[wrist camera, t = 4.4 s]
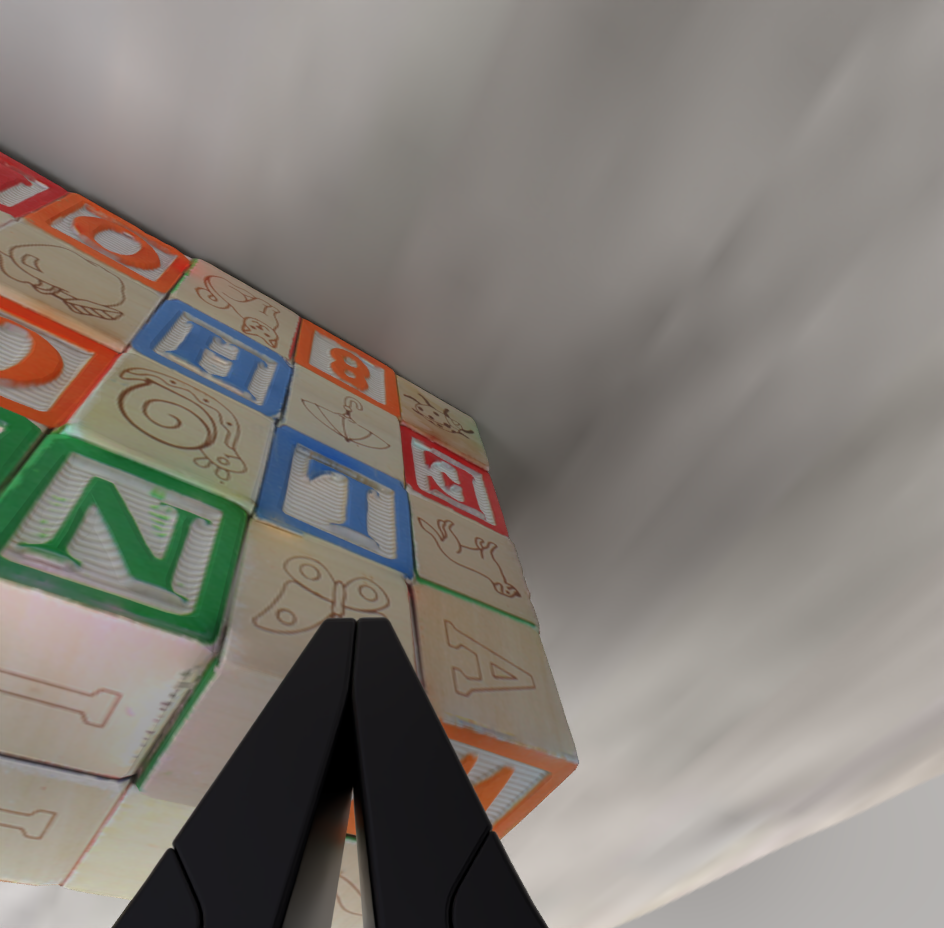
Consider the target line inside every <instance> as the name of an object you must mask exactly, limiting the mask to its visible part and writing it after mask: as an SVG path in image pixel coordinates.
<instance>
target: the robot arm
mask: <svg viewBox="0 0 944 928" xmlns="http://www.w3.org/2000/svg"><path fill="white" fill-rule="evenodd" d="M352 792H353V798H354V815H355V828H356V841H357V854H358V866H359V879H360V892H361V905H362V918H363V928H548V926H547V924H546V923H545V921H544V920H543V918H542V916H541V915H540V913H539V911H538V910H537V908H536V907H535V905H534V903H533V901H532V899H531V898H530V896H529V894H528V892H527V890H526V888H525V887H524V885H523V883H522V881H521V879H520V877H519V875H518V874H517V872H516V870H515V868H514V866H513V864H512V863H511V861H510V859H509V857H508V855H507V853H506V851H505V849H504V847H503V845H502V843H501V841H500V839H499V837H498V835H497V833H496V832H495V831H492V829H493V826H492V824H491V822H490V820H489V818H488V816H487V814H486V812H485V810H484V808H483V806H482V804H481V802H480V800H479V798H478V796H477V794H476V792H475V790H474V788H473V786H472V784H471V782H470V780H469V778H468V776H467V774H466V772H465V770H464V768H463V766H462V764H461V762H460V760H459V758H458V756H457V754H456V752H455V750H454V748H453V746H452V744H451V742H450V740H449V738H448V736H447V734H446V732H445V730H444V728H443V726H442V724H441V722H440V720H439V718H438V716H437V714H436V712H435V710H434V708H433V706H432V704H431V702H430V700H429V698H428V696H427V694H426V692H425V690H424V688H423V686H422V684H421V682H420V680H419V678H418V676H417V674H416V672H415V670H414V668H413V666H412V664H411V662H410V660H409V658H408V656H407V654H406V652H405V650H404V648H403V646H402V644H401V642H400V640H399V638H398V636H397V634H396V632H395V630H394V628H393V626H392V624H391V622H390V621H389V620H388V619H387V618H386V617H362V618H359V619H358V620H357V621H356V619H354V618H327V619H326V620H324V621H323V622H322V624H321V625H320V626H319V628H318V629H317V631H316V632H315V634H314V635H313V637H312V638H311V640H310V641H309V643H308V644H307V646H306V647H305V648H304V650H303V651H302V653H301V654H300V656H299V657H298V659H297V660H296V662H295V663H294V665H293V666H292V667H291V669H290V670H289V672H288V673H287V675H286V676H285V678H284V679H283V681H282V682H281V684H280V685H279V686H278V688H277V689H276V691H275V692H274V694H273V695H272V697H271V698H270V700H269V701H268V703H267V704H266V705H265V707H264V708H263V710H262V711H261V713H260V714H259V716H258V717H257V719H256V720H255V722H254V723H253V724H252V726H251V727H250V729H249V730H248V732H247V733H246V735H245V736H244V738H243V739H242V741H241V742H240V744H239V745H238V746H237V748H236V749H235V751H234V752H233V754H232V755H231V757H230V758H229V760H228V761H227V763H226V764H225V765H224V767H223V768H222V770H221V771H220V773H219V774H218V776H217V777H216V779H215V780H214V782H213V783H212V784H211V786H210V787H209V789H208V790H207V792H206V793H205V795H204V796H203V798H202V799H201V801H200V802H199V803H198V805H197V806H196V808H195V809H194V811H193V812H192V814H191V815H190V817H189V818H188V820H187V821H186V823H185V824H184V825H183V827H182V828H181V830H180V831H179V833H178V834H177V836H176V837H175V839H174V840H173V842H172V846H173V848H168V849H167V850H166V851H165V853H164V854H163V856H162V857H161V859H160V860H159V861H158V863H157V864H156V866H155V867H154V869H153V870H152V872H151V873H150V875H149V876H148V878H147V879H146V881H145V882H144V883H143V885H142V886H141V888H140V889H139V890H138V892H137V893H136V895H135V896H134V897H133V899H132V900H131V901H130V903H129V904H128V906H127V907H126V908H125V910H124V911H123V912H122V914H121V915H120V917H119V918H118V919H117V921H116V922H115V924H114V925H113V926H112V928H331V925H332V919H333V912H334V906H335V900H336V894H337V888H338V881H339V875H340V869H341V863H342V857H343V851H344V844H345V838H346V832H347V826H348V820H349V814H350V807H351V799H352Z"/></svg>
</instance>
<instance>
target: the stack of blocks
mask: <svg viewBox="0 0 944 928" xmlns="http://www.w3.org/2000/svg"><path fill="white" fill-rule="evenodd" d="M489 469H490V467H489V462H488V459H487V456H486V452H485V449H484V446H483V443H482V440H481V438H480V434H479V432H478V429H477V426H476V423H475V421H474V420H473V419H472V418H471V417H470V416H468V415H466V414H464V413H463V412H461V411H459V410H457V409H456V408H454V407H452V406H450V405H449V404H447V403H445V402H443V401H442V400H440V399H438V398H437V397H435V396H433V395H431V394H430V393H428V392H426V391H424V390H423V389H421V388H419V387H418V386H416V385H414V384H412V383H411V382H409V381H407V380H406V379H404V378H402V377H400V376H398V375H396V374H395V373H394V371H393V370H392V369H391V368H390V367H388V366H386V365H385V364H383V363H381V362H379V361H378V360H376V359H374V358H373V357H371V356H369V355H367V354H366V353H364V352H362V351H360V350H358V349H357V348H355V347H353V346H351V345H350V344H348V343H346V342H345V341H343V340H341V339H339V338H338V337H336V336H334V335H332V334H331V333H329V332H327V331H325V330H324V329H322V328H320V327H318V326H317V325H315V324H313V323H311V322H310V321H308V320H305V319H303V318H301V317H299V316H298V315H297V314H295V313H294V312H292V311H291V310H289V309H287V308H285V307H284V306H282V305H281V304H279V303H277V302H276V301H274V300H273V299H271V298H269V297H267V296H265V295H264V294H262V293H260V292H258V291H257V290H255V289H253V288H251V287H249V286H248V285H246V284H244V283H243V282H241V281H239V280H237V279H236V278H234V277H232V276H230V275H228V274H227V273H225V272H223V271H221V270H220V269H218V268H216V267H215V266H213V265H211V264H209V263H207V262H205V261H203V260H201V259H192V258H190V257H188V256H185V255H183V254H182V253H181V252H179V251H178V250H177V249H175V248H174V247H172V246H170V245H168V244H165V243H163V242H162V241H160V240H158V239H157V238H155V237H153V236H151V235H148V234H146V233H145V232H143V231H142V230H140V229H139V228H137V227H136V226H134V225H132V224H130V223H129V222H127V221H125V220H123V219H122V218H120V217H118V216H116V215H114V214H113V213H111V212H109V211H107V210H106V209H104V208H102V207H100V206H99V205H97V204H95V203H93V202H92V201H90V200H88V199H86V198H85V197H83V196H81V195H79V194H76V193H72V192H67V191H66V190H65V189H63V188H62V187H61V186H59V185H57V184H55V183H53V182H52V181H50V180H48V179H46V178H45V177H43V176H41V175H40V174H38V173H36V172H35V171H33V170H31V169H30V168H28V167H26V166H25V165H23V164H21V163H19V162H17V161H16V160H14V159H12V158H10V157H9V156H7V155H5V154H3V153H1V152H0V881H4V882H11V883H19V884H27V885H34V886H38V885H60V886H62V887H64V888H67V889H71V890H76V891H81V892H86V893H91V894H97V895H104V896H110V897H116V898H122V899H129V900H132V899H133V897H134V896H135V895H136V893H137V892H138V890H139V889H140V888H141V886H142V885H143V883H144V882H145V881H146V879H147V878H148V876H149V875H150V873H151V872H152V870H153V869H154V867H155V866H156V864H157V863H158V861H159V860H160V859H161V857H162V856H163V854H164V853H165V851H166V850H167V849H168V848H173V846H172V842H173V840H174V839H175V837H176V836H177V834H178V833H179V831H180V830H181V828H182V827H183V825H184V824H185V823H186V821H187V820H188V818H189V817H190V815H191V814H192V812H193V811H194V809H195V808H196V806H197V805H198V803H199V802H200V801H201V799H202V798H203V796H204V795H205V793H206V792H207V790H208V789H209V787H210V786H211V784H212V783H213V782H214V780H215V779H216V777H217V776H218V774H219V773H220V771H221V770H222V768H223V767H224V765H225V764H226V763H227V761H228V760H229V758H230V757H231V755H232V754H233V752H234V751H235V749H236V748H237V746H238V745H239V744H240V742H241V741H242V739H243V738H244V736H245V735H246V733H247V732H248V730H249V729H250V727H251V726H252V724H253V723H254V722H255V720H256V719H257V717H258V716H259V714H260V713H261V711H262V710H263V708H264V707H265V705H266V704H267V703H268V701H269V700H270V698H271V697H272V695H273V694H274V692H275V691H276V689H277V688H278V686H279V685H280V684H281V682H282V681H283V679H284V678H285V676H286V675H287V673H288V672H289V670H290V669H291V667H292V666H293V665H294V663H295V662H296V660H297V659H298V657H299V656H300V654H301V653H302V651H303V650H304V648H305V647H306V646H307V644H308V643H309V641H310V640H311V638H312V637H313V635H314V634H315V632H316V631H317V629H318V628H319V626H320V625H321V624H322V622H323V621H324V620H326V619H327V618H354V619H356V621H357V620H358V619H359V618H362V617H386V618H387V619H388V620H389V621H390V622H391V624H392V626H393V628H394V630H395V632H396V634H397V636H398V638H399V640H400V642H401V644H402V646H403V648H404V650H405V652H406V654H407V656H408V658H409V660H410V662H411V664H412V666H413V668H414V670H415V672H416V674H417V676H418V678H419V680H420V682H421V684H422V686H423V688H424V690H425V692H426V694H427V696H428V698H429V700H430V702H431V704H432V706H433V708H434V710H435V712H436V714H437V716H438V718H439V720H440V722H441V724H442V726H443V728H444V730H445V732H446V734H447V736H448V738H449V740H450V742H451V744H452V746H453V748H454V750H455V752H456V754H457V756H458V758H459V760H460V762H461V764H462V766H463V768H464V770H465V772H466V774H467V776H468V778H469V780H470V782H471V784H472V786H473V788H474V790H475V792H476V794H477V796H478V798H479V800H480V802H481V804H482V806H483V808H484V810H485V812H486V814H487V816H488V818H489V820H490V822H491V824H492V826H493V829H492V831H495V832H496V833H497V835H498V837H499V839H500V840H501V839H502V838H503V837H504V836H505V835H506V834H507V833H508V832H509V831H510V830H512V829H513V828H514V827H515V826H516V825H517V824H518V823H519V822H520V821H521V820H522V819H523V818H525V817H526V816H527V815H528V814H529V813H530V812H531V811H532V810H533V809H534V808H535V807H536V806H537V805H538V804H539V803H541V802H542V801H543V800H544V799H545V798H546V797H547V796H548V795H549V794H550V793H551V792H552V791H553V790H554V789H555V788H556V787H557V786H559V785H560V784H561V783H562V782H563V781H564V780H565V779H566V778H567V777H568V776H569V775H570V774H571V773H572V772H573V771H574V770H575V769H576V768H577V766H578V764H579V760H578V756H577V752H576V748H575V744H574V741H573V738H572V735H571V732H570V729H569V726H568V723H567V720H566V717H565V713H564V710H563V707H562V704H561V700H560V697H559V694H558V691H557V688H556V684H555V681H554V678H553V675H552V672H551V669H550V666H549V663H548V660H547V657H546V654H545V651H544V648H543V645H542V642H541V639H540V636H539V634H540V631H539V623H538V619H537V616H536V613H535V610H534V607H533V605H532V603H531V601H530V592H529V590H528V588H527V585H526V582H525V579H524V576H523V570H522V566H521V564H520V561H519V559H518V555H517V551H516V548H515V546H514V544H513V542H512V541H511V540H509V536H508V532H507V528H506V525H505V521H504V517H503V514H502V511H501V508H500V505H499V502H498V498H497V495H496V492H495V489H494V486H493V483H492V480H491V478H490V475H489V473H488V471H489ZM331 928H363V918H362V905H361V892H360V879H359V866H358V854H357V841H356V828H355V815H354V798H353V792H352V799H351V807H350V814H349V820H348V826H347V832H346V838H345V844H344V851H343V857H342V863H341V869H340V875H339V881H338V888H337V894H336V900H335V906H334V912H333V919H332V925H331Z"/></svg>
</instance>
